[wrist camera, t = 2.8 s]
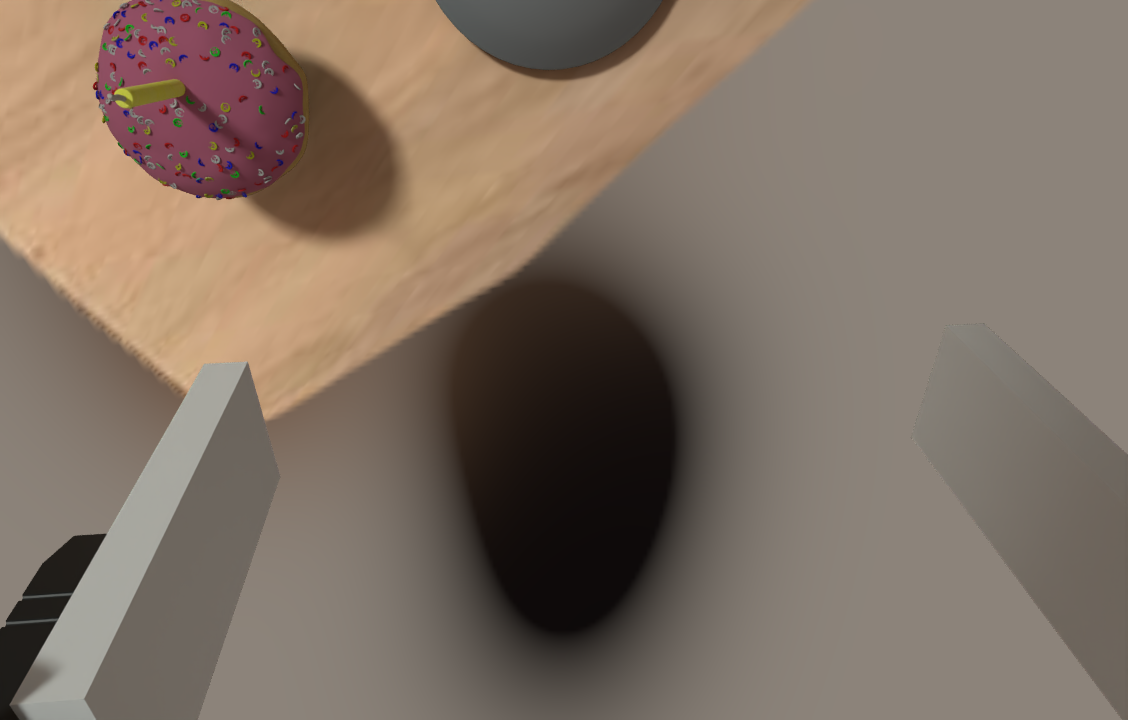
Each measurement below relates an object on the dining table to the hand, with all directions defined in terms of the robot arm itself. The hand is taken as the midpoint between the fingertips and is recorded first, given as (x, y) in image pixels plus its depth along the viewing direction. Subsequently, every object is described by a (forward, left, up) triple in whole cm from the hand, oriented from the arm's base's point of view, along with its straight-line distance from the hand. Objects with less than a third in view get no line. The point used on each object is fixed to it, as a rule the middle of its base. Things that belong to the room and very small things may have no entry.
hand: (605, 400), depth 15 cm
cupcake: (-13, -6, -27) cm, 31 cm away
